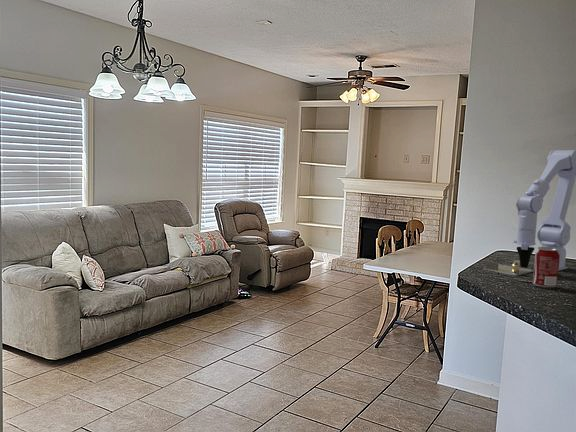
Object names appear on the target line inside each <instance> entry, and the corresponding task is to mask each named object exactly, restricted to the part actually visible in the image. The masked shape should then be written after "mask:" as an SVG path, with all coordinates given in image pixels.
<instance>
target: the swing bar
mask: <svg viewBox="0 0 576 432" xmlns="http://www.w3.org/2000/svg"><path fill="white" fill-rule="evenodd" d="M511 266H512V271H513V272H519V268H521V266H520V259H514V260H513V262H512V265H511Z"/></svg>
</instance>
